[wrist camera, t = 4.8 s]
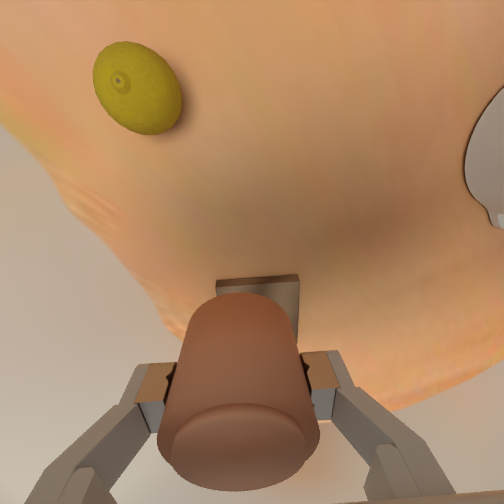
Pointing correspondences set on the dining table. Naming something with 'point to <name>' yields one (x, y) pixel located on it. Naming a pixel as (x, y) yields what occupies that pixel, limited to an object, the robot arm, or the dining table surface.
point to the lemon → (137, 88)
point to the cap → (238, 398)
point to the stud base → (269, 292)
